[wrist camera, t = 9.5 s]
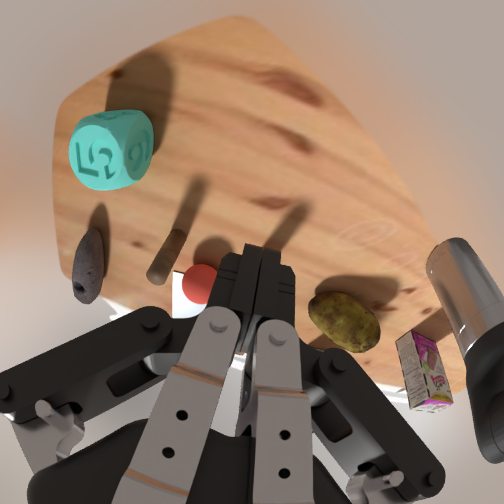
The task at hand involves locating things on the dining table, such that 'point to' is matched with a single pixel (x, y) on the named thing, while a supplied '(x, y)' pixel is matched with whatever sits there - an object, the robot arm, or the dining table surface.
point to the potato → (345, 321)
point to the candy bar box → (423, 373)
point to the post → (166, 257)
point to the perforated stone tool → (88, 267)
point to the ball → (198, 283)
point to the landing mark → (183, 300)
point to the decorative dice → (111, 149)
